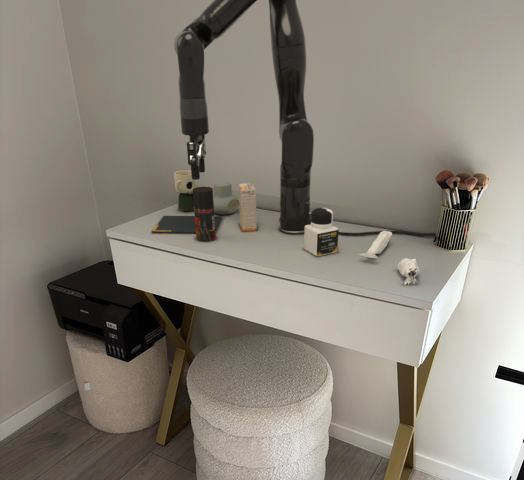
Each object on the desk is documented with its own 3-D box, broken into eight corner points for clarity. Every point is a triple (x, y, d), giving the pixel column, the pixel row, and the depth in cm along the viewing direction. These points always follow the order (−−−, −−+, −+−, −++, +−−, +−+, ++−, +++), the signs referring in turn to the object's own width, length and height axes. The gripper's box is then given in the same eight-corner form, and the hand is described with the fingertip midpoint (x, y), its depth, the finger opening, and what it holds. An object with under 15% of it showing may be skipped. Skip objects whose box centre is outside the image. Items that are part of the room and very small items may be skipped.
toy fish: (395, 244, 158) (396, 231, 155) (376, 265, 144) (377, 251, 142) (377, 241, 160) (378, 228, 158) (357, 262, 146) (358, 248, 144)
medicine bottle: (316, 257, 150) (318, 215, 143) (303, 249, 155) (304, 208, 149) (337, 252, 153) (340, 211, 146) (324, 244, 158) (326, 204, 152)
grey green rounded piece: (224, 218, 180) (222, 188, 175) (205, 214, 184) (203, 185, 179) (242, 210, 188) (241, 181, 183) (224, 206, 192) (222, 178, 186)
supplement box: (257, 230, 169) (256, 189, 162) (242, 231, 169) (240, 190, 162) (254, 222, 176) (253, 182, 169) (239, 223, 176) (238, 183, 169)
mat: (221, 217, 181) (221, 215, 180) (214, 234, 167) (214, 231, 167) (164, 217, 182) (163, 215, 182) (152, 233, 169) (151, 231, 168)
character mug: (188, 215, 183) (184, 177, 177) (170, 213, 186) (166, 175, 179) (203, 206, 192) (201, 169, 185) (186, 204, 194) (183, 168, 188)
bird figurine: (423, 288, 134) (413, 264, 141) (424, 267, 130) (413, 243, 137) (404, 292, 135) (395, 268, 142) (404, 271, 130) (394, 247, 137)
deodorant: (214, 241, 161) (211, 191, 154) (195, 241, 162) (191, 192, 154) (216, 234, 167) (213, 186, 159) (197, 235, 167) (193, 186, 159)
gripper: (203, 119, 140) (207, 182, 148) (211, 111, 152) (215, 169, 161) (174, 119, 140) (180, 181, 149) (185, 111, 153) (190, 169, 161)
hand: (198, 175), depth 155 cm, fingers open, 8 cm apart
